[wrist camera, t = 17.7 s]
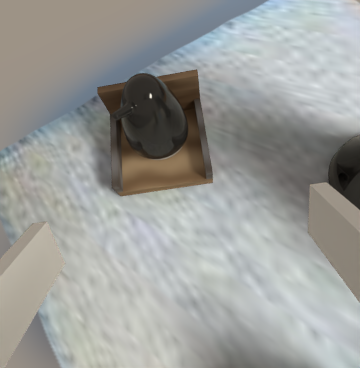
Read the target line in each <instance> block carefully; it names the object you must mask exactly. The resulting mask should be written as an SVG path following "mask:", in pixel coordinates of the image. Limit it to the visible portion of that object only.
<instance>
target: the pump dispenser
mask: <svg viewBox="0 0 360 368" xmlns="http://www.w3.org/2000/svg"><path fill="white" fill-rule="evenodd" d="M112 116H113V118H114V119H115V120H120V119H121V122H122V127H123V131H124V134H125V137H126V139H127V142H128V144H129V145H130V147H131V148H132V150H133V151H134V152H135V153H137V154H138V155H140V156H142V157H144V158H148V159H151V160H164V159H167V158H170V157H172V156H173V155H175V154H176V153H177V152H178V151H179V150H180V149H181V148H182V146H183V145H184V143H185V142H186V139H187V137H188V132H189V127H188V121H187V117H186V115H185V112H184V110H183V108H182V106H181V104H180V102H179V100H178V99H177V97H176V96H175V94H174V93H173V92H172V91H171V89H170V88H169V87H168V86H167V85H166V84H165V83H164V82H162V81H161V80H160V79H158V78H157V77H155V76H153V75H151V74H147V73H140V74H136V75H134V76H132V77H131V78H130V79H129V80H128V81H127V82H126V84H125V86H124V88H123V91H122V94H121V102H120V108H119V109H118V110H116V111H115V112H113V114H112Z"/></svg>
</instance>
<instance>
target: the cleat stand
mask: <svg viewBox="0 0 360 368" xmlns="http://www.w3.org/2000/svg"><path fill="white" fill-rule="evenodd" d="M157 78H158V79H160V80H161V81H162V82H164V83H165V84H166V85H167V86H168V87H169V88H170V89H171V91H172V92H173V93H174V94H175V96H176V97H177V99H178V100H179V102H180V104H181V106H182V108H183V110H184V112H185V115H186V117H187V121H188V127H189V132H188V137H187V139H186V142H185V143H184V145H183V146H182V148H181V149H180V150H179V151H178V152H177V153H176V154H175V155H173V156H172V157H170V158H167V159H164V160H151V159H148V158H144V157H142V156H140V155H138V154H137V153H135V152H134V151H133V150H132V148H131V147H130V145H129V144H128V142H127V139H126V137H125V134H124V131H123V127H122V122H121V119H120V120H115V119H114V118H113V116H112V114H113V112H115V111H116V110H118V109H119V108H120V102H121V94H122V91H123V88H124V86H125V84H126V82H124V83H119V84H113V85H108V86H102V87H98V95H99V97H100V98H101V100H102V101H103V103H104V105H105V106H106V108H107V110H108V111H109V113H110V127H111V170H112V188H113V189H114V190H115V191H116V192H117V193H118V194H119V195H120V196H126V195H133V194H140V193H146V192H153V191H160V190H167V189H173V188H180V187H187V186H194V185H200V184H207V183H213V172H212V167H211V161H210V155H209V149H208V143H207V137H206V131H205V125H204V120H203V114H202V108H201V102H200V93H199V81H198V72H197V70H191V71H186V72H180V73H175V74H169V75H163V76H158V77H157Z"/></svg>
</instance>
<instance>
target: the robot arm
mask: <svg viewBox="0 0 360 368" xmlns="http://www.w3.org/2000/svg"><path fill="white" fill-rule="evenodd" d="M329 182H330V185H329V184H328V183H327V182H324V183H317V184H310V193H309V218H308V233H309V235H310V236H311V237H312V239H313V240H314V241H315V243H316V244H317V245H318V247H319V248H320V249H321V251H322V252H323V253H324V255H325V256H326V258H327V259H328V260H329V262H330V263H331V264H332V266H333V267H334V268H335V270H336V271H337V272H338V274H339V275H340V277H341V278H342V279H343V281H344V282H345V283H346V285H347V286H348V287H349V289H350V290H351V291H352V293H353V294H354V296H355V297H356V298H357V300H358V301H359V302H360V135H358V136H356V137H354V138H352V139H351V140H349V141H348V142H346V143H345V144H344V145H343V146H342V147H341V148H340V149H339V150H338V151H337V153H336V154H335V155H334V157H333V159H332V161H331V163H330V167H329ZM64 265H65V262H64V260H63V257H62V255H61V253H60V250H59V248H58V246H57V243H56V241H55V239H54V236H53V234H52V232H51V230H50V227H49V225H48V223H47V222H40V223H33V224H32V225H31V226H30V227H29V228H28V229H27V230H26V231H25V233H24V234H23V235H22V236H21V237H20V238H19V239H18V240H17V241H16V242H15V243H14V244H13V246H12V247H11V248H10V249H9V250H8V251H7V252H6V253H5V254H4V255H3V256H2V257H1V259H0V368H5V366H6V364H7V363H8V361H9V359H10V357H11V356H12V354H13V352H14V351H15V349H16V347H17V345H18V344H19V342H20V340H21V339H22V337H23V335H24V334H25V332H26V330H27V328H28V327H29V325H30V323H31V321H32V320H33V318H34V316H35V315H36V313H37V311H38V309H39V308H40V306H41V304H42V303H43V301H44V299H45V297H46V296H47V294H48V292H49V291H50V289H51V287H52V285H53V284H54V282H55V280H56V278H57V277H58V275H59V273H60V272H61V270H62V268H63V266H64Z"/></svg>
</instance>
